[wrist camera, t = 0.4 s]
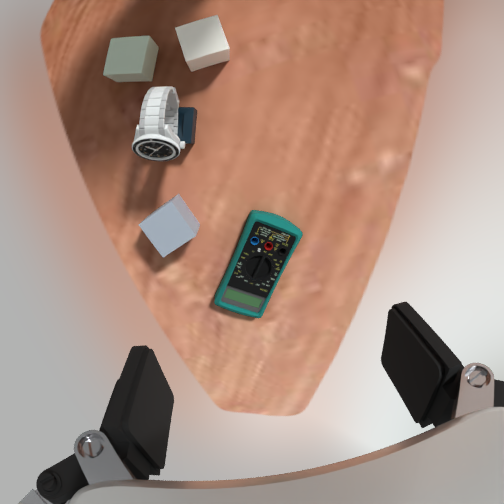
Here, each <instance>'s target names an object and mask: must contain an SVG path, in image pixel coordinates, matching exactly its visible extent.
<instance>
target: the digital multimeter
mask: <svg viewBox="0 0 504 504" xmlns="http://www.w3.org/2000/svg"><path fill="white" fill-rule="evenodd" d="M253 224H254V225H253ZM302 235H303V234H302V232H301V230H300V229H299V228H298V227H296V226H295V225H294V224H292V223H291V222H290V221H288V220H286V219H285V218H283V217H281V216H278V215H276V214H273V213H269V212H264V211H257V210H252V211H251V212H250V214H249V216H248V219H247V222H246V225H245V227H244V230H243V233H242V235H241V238H240V240H239V243H238V245H237V248H236V250H235V253H234V255H233V257H232V260H231V262H230V264H229V266H228V269H227V271H226V273H225V275H224V277H223V279H222V282H221V284H220V286H219V288H218V290H217V292H216V294H215V301H214V303H215V304H216V305H217V306H220V307H222V308H224V309H227V310H230V311H232V312H235V313H238V314H242V315H246V316H250V317H255V318H261V317H262V315H263V313H264V311H265V309H266V306H267V304H268V302H269V300H270V297H271V295H272V293H273V291H274V289H275V287H276V285H277V283H278V281H279V279H280V277H281V274H282V273H283V271H284V269H285V267H286V265H287V263H288V261H289V259H290V258H291V256H292V254H293V252H294V250H295V248H296V247H297V245H298V243H299V241H300V239H301V237H302ZM246 240H247V241H246ZM253 280H254V281H253Z"/></svg>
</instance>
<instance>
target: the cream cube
mask: <svg viewBox="0 0 504 504" xmlns="http://www.w3.org/2000/svg"><path fill="white" fill-rule="evenodd" d="M175 29H176V32H177V36H178V39H179V42H180V45H181V48H182V51H183V54H184V57H185V60H186V63H187V65H188V67H189V68H190V70H191V72H193V71H195V70H199V69H202V68H205V67H208V66H211V65H215V64H218V63H221V62H225V61H228V60H229V53H230V48H229V46H228V43H227V40H226V37H225V34H224V32H223V29H222V26H221V23H220V21H219V18H218V15H215V16H212V17H208V18H204V19H201V20H198V21H194V22H191V23H188V24H185V25H182V26H179V27H176V28H175Z"/></svg>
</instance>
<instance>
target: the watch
mask: <svg viewBox="0 0 504 504" xmlns="http://www.w3.org/2000/svg"><path fill="white" fill-rule="evenodd" d="M196 118H197V110H196V109H195V108H193V107H179V100H178V96H177V92H176V89H175V87H172V86H165V87H151V88H150V89H149V90H148V92H147V93H146V95H145V97H144V100H143V104H142V108H141V113H140V123H139V125H137V127H136V132H135V138H134V142H133V144H132V150H133V152H134V153H135V154H136V155H138V156H140V157H142V158H144V159H148V160H152V161H168V160H172V159H175V158H176V157H178V156H179V154H180V149H184V148H185V144H188V143H195V130H196Z"/></svg>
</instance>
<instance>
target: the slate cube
mask: <svg viewBox="0 0 504 504" xmlns="http://www.w3.org/2000/svg"><path fill="white" fill-rule="evenodd" d="M139 226H140V227H141V229H142V230H143V232H144V233H145V234H146V236H147V237H148V238H149V240H150V241H151V242H152V244H153V245H154V246H155V248H156V249H157V250H158V252H159V253H160V254H161V256H162V257H165V256H166V255H168V254H169V253H171V252H172V251H174V250H175V249H177V248H178V247H180V246H181V245H183V244H184V243H186V242H187V241H189V240H190V239H192V238H193V237H195V236H196V234H197V232H198V229H199V226H200V224H199V222H198V221H197V219H196V218H195V216H194V215H193V214H192V212H191V211H190V209H189V208H188V206H187V205H186V204H185V202H184V201H183V199H182V198H181V196H180V195H179V194H177V195H176V196H175V197H173V198H172V199H170V200H169V201H168V202H166V203H165V204H163V205H162V206H161V207H159V208H158V209H157V210H155V211H154V212H152V213H151V214H150V215H149V216H147V217H146V218H145V219H144V220H143V221H142V222H141V223H140V224H139Z"/></svg>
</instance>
